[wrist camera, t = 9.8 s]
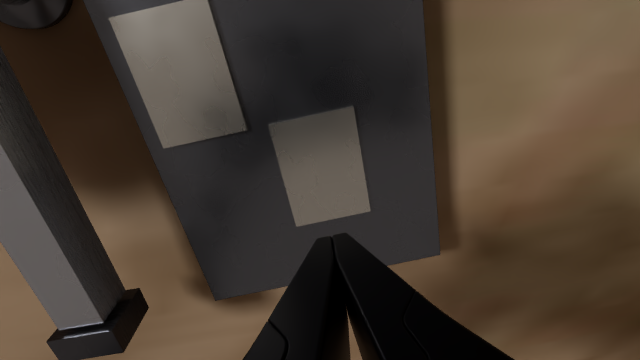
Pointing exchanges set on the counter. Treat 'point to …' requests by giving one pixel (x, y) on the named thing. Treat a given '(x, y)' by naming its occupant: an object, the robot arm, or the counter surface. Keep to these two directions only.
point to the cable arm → (57, 237)
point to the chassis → (281, 126)
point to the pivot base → (35, 13)
